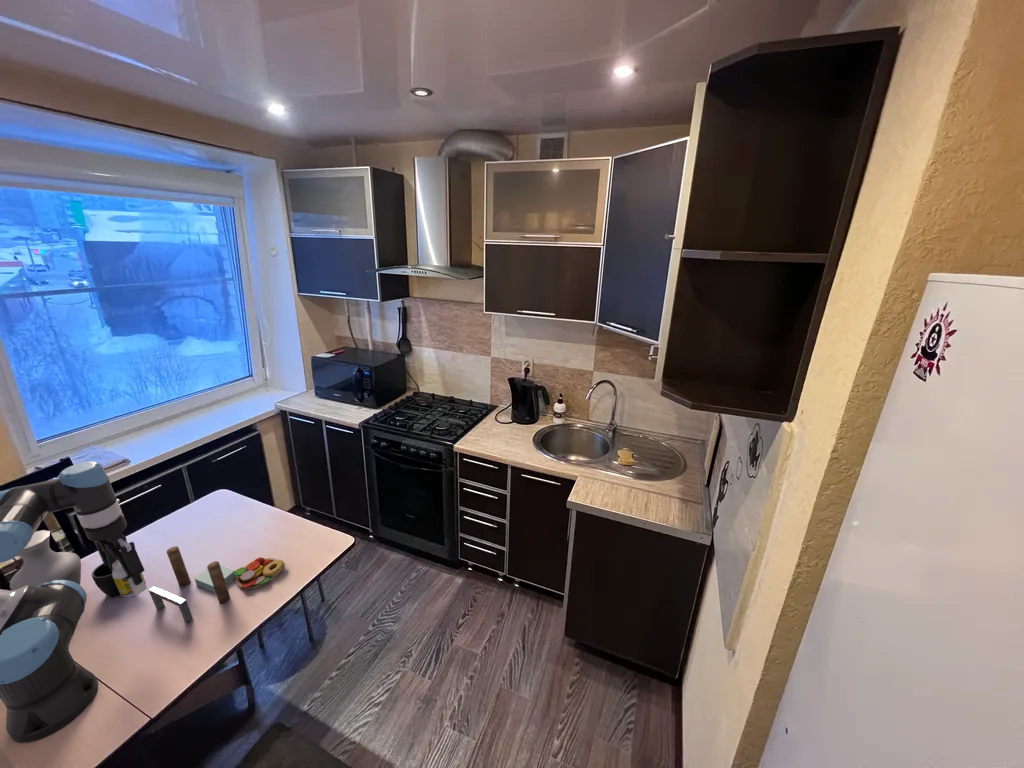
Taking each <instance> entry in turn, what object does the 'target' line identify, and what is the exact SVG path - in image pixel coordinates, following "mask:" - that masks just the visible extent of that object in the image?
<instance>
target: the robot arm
mask: <svg viewBox="0 0 1024 768" xmlns="http://www.w3.org/2000/svg"><path fill="white" fill-rule="evenodd" d="M58 476H59V478H55V479H49V480H46V481H45V480H44V481H40V482H36V483H31V484H27V485H20V486H14V487H11V488H7V489H5V490H0V564H1V563H2V564H3V563H6V562H7V561H10V560H12V559H14V558H16V557H17V556H19V555H18V554H19V553H20V552H21V551H22V549H23V548H25V547H26V546H27V544H28V543H29V541H30V540H31V538H32V536H33V534H34V533H35V532H37V531H38V528H39V527H40V525H41V523H43V520H44V519H45V517H46V516H47V515H48V514H51V513H55V512H59V511H63V510H67V509H70V508H73V509H74V512H75V515H76V517H77V519H78V522H79V524H80V525H81V527H82V528H83V531H84V533H85V535H86V537H87V540H89V541H91V542H93V543H94V545H95V547H96V549H97V552H98V555H99V556H100V559H101V561H102V564H103V563H104V565H106V566H107V565H108V567H109V569H113V567H112V564H113V563H114V562H115V561H116V560H119V562H120V564H121V565H122V567H123V569H124V570H125V572H126V574H127V575H128V576H127V577H125V579H126V580H128V582H129V585H130V587H131V589H132V591H133V594H134V595H133V596H134V597H136V596H138V595H140V594H141V593H142V592H144V591H145V590H147V589H148V586H147V583H146V584H145V582H146V581H145V582H144V580H143V577H144V576H143V577H142V575H141V573H142V574H143V573H144V572H145V568H144V565H143V563H142V562H141V559H140V557H139V554H138V552H137V549H136V545H135V542H134V541H130V542H129V543H128V541H127V540H128V539H127V537H126V535H125V534H123V532H124V531H125V529H126V528H127V526H128V523H127V519H126V518H125V515H124V513H123V511H122V509H121V506H120V504H119V503H120V501H121V500H120V499H119V498H117V497H116V494H115V492H114V489H113V487H112V486H113V485H112V483H111V481H110V478H109V475H108V474H107V473H106V470H105V469H104V467H103V465H102V464H101V462H98V461H83V462H79V463H77V464H74V465H70V466H68V467H66V468H64V469H63V470H62V471H60V472H59V475H58ZM113 571H114V570H112V573H113ZM87 596H88V595H87V593H86V591H85V589H84V587H83V586H81V584H80V585H79V584H77V583H75V582H72V581H68V580H53V581H51V582H49V583H48V582H46V583H43V584H41V585H39V586H38V587H36V586H28V585H26V586H24V587H22V588H19V589H17V590H14V591H12V590H11V589H10V590H9V589H0V700H1V701H2V703H3V704H4V705H5V707H6V720H5V721H6V722H5V728H6V733H7V735H8V736H9V737H10V738H11V740H12V741H13V742H16V743H19V744H27V743H32V742H36V741H39V740H42V739H44V738H47V737H48V736H51V735H53V734H55V733H56V732H58V731H60V730H62V729H63V728H65V727H66V726H68V725H69V724H70V723H72V722H73V721H75V720H76V718H78V717H79V716H80V715H81V714H82V713H84V712H85V710H86V709H87V708H88V707H89V705H90V704H91V703H92V702H93V700H94V699H95V697H96V695H97V693H98V689H99V681H98V679H97V677H96V676H95V673H93V672H92V671H90V670H88V669H85V668H84V667H82V666H80V665H78V664H77V663H76V661H75V660H74V658H73V656H72V655H71V652H70V651H69V646H70V643H71V641H72V639H73V636H74V634H75V631H76V628H77V626H78V624H79V620H80V619H81V617H82V615H83V614H84V612H85V609H86V603H87V599H88V597H87Z"/></svg>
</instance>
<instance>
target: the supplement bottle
mask: <svg viewBox="0 0 1024 768" xmlns="http://www.w3.org/2000/svg"><path fill="white" fill-rule="evenodd" d="M112 567H113V570H114V571H113V573H112V577H113V579H114V581H115V583H116V586H117V588H118V590H119V593H120V596H121V597H124V598H128V597H132V596H135V595H134V594H133V591H132V589H131V587H130V585H129V582H128V580H126V579H125V577H127V576H128V575H127V574H126V572H125V570H124V569H123V567H122V565H121V564H120V562H119V560H116V561H115V562H114V563H113V564H112ZM141 575H142V577H143V580H144V582H145V584H146V585H147V583H146V580H145V577H144V575H143V572H142V573H141Z"/></svg>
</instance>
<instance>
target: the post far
mask: <svg viewBox="0 0 1024 768" xmlns="http://www.w3.org/2000/svg"><path fill="white" fill-rule="evenodd" d="M166 555H167V557H168V559H169V562H170V565H171V568H172V571H173V573H174V576H175V578H176V581H177V583H178V587H179V588H185V587H187V586H189V585H190V584H191V583H192V581H191V578H190V576H189V572H188V570H187V567H186V565H185V562H184V559H183V556H182V554H181V550H180V547H179V546H172V547H170V548H168V549H167V550H166Z"/></svg>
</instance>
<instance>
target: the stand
mask: <svg viewBox="0 0 1024 768" xmlns="http://www.w3.org/2000/svg"><path fill="white" fill-rule="evenodd" d="M220 567H221V570H222V573H223V576H224V579H225V582H226V585H228V584H229V583H231V582H232V581H233V580H234V579H235V578H237V576H235V575H234V572H235V571H236V570H234V569H232V568H229V567H227V566H225V565H220ZM194 581H195V585H197V586H199V587H201V588H204V589H206V590H209V591H211V592H214V593H216V592H215V589H214V586H213V583H212V580H211V577H210V574H209V571H208V568H207V569H206V570H205V571H203V572H202V573H200V574H199V575H198V576H196V577H195V578H194Z"/></svg>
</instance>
